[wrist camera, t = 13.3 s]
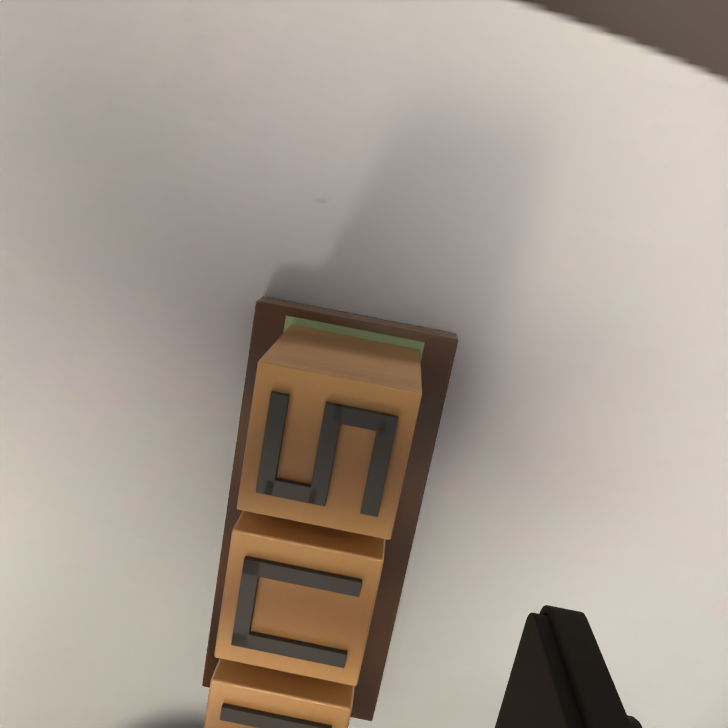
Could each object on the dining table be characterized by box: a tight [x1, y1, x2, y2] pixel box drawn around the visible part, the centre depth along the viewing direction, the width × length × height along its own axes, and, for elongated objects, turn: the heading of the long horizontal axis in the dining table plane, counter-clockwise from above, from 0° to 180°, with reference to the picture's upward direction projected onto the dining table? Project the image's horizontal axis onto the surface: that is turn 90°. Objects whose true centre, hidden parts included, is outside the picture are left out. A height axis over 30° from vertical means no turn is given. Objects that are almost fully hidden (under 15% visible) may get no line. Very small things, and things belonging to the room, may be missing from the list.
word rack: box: [202, 297, 458, 728], centre depth 23 cm, size 16×7×6 cm, turn 170°
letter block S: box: [237, 325, 422, 540], centre depth 21 cm, size 4×4×5 cm
